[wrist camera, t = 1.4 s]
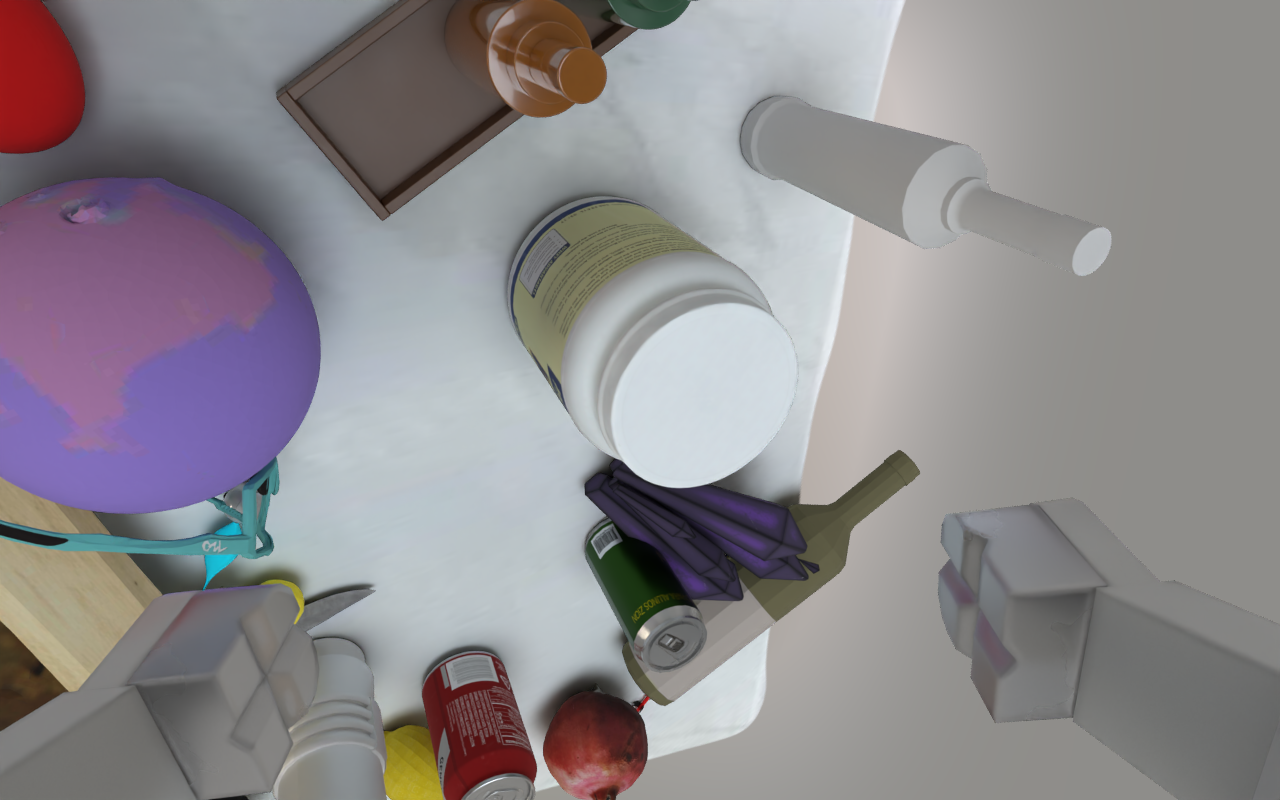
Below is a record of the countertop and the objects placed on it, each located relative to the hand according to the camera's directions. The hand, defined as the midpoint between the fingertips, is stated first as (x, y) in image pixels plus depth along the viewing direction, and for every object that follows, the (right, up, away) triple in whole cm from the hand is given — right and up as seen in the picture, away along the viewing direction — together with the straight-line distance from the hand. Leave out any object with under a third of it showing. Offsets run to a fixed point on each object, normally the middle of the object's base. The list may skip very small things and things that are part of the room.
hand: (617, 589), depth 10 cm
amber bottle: (-8, +22, +32) cm, 39 cm away
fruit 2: (-5, -26, +61) cm, 67 cm away
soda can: (-14, -20, +54) cm, 59 cm away
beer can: (-2, -9, +53) cm, 54 cm away
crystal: (-2, -2, +47) cm, 47 cm away
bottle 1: (0, -22, +58) cm, 62 cm away
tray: (-8, +22, +32) cm, 40 cm away
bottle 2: (+9, +20, +42) cm, 47 cm away
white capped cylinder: (-23, -17, +48) cm, 56 cm away
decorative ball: (-25, +8, +32) cm, 42 cm away
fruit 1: (-14, -29, +51) cm, 60 cm away
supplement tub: (-3, +10, +42) cm, 43 cm away
